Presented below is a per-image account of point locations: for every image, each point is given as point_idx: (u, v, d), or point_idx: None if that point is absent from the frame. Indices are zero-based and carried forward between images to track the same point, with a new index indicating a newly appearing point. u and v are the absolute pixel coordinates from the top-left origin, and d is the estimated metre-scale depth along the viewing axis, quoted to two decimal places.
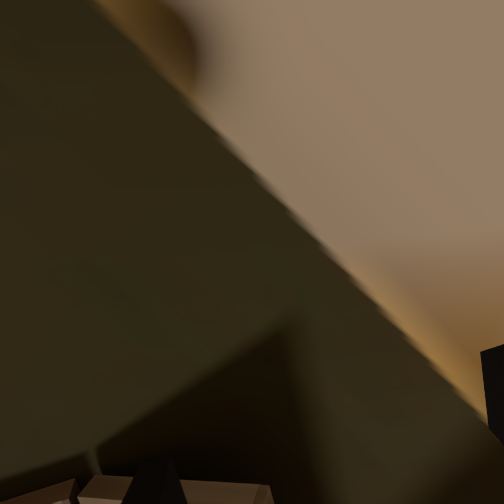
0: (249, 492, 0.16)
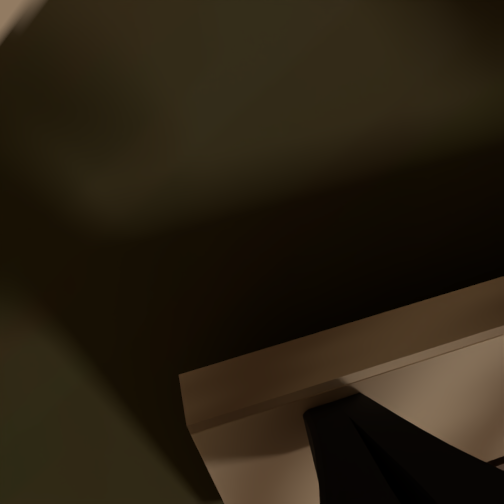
0: None
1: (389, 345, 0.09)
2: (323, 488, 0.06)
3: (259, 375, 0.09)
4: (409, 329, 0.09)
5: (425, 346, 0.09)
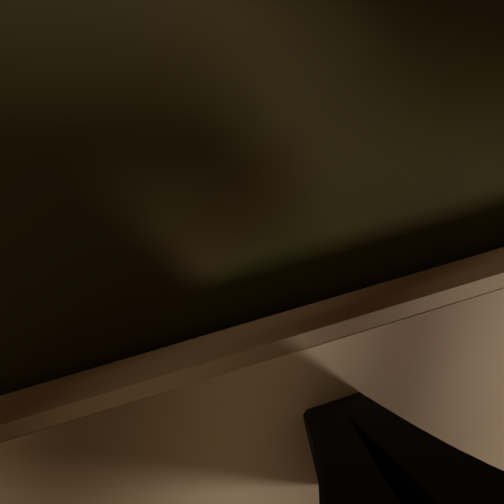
0: None
1: (164, 366, 0.09)
2: (322, 488, 0.06)
3: (27, 401, 0.08)
4: (191, 352, 0.09)
5: (196, 363, 0.08)
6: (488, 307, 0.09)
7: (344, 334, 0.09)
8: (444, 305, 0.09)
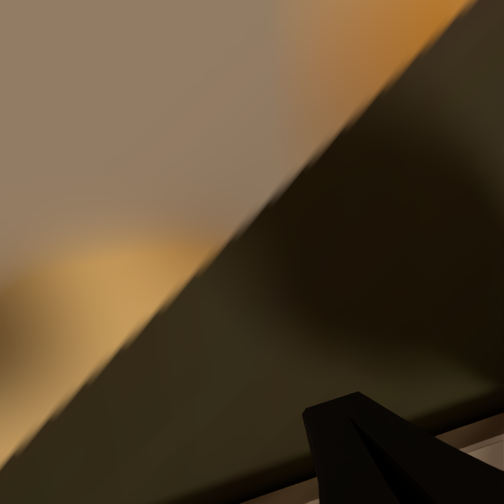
0: None
1: None
2: (322, 488, 0.06)
3: None
4: (286, 498, 0.20)
5: None
6: None
7: None
8: None
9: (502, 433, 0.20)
